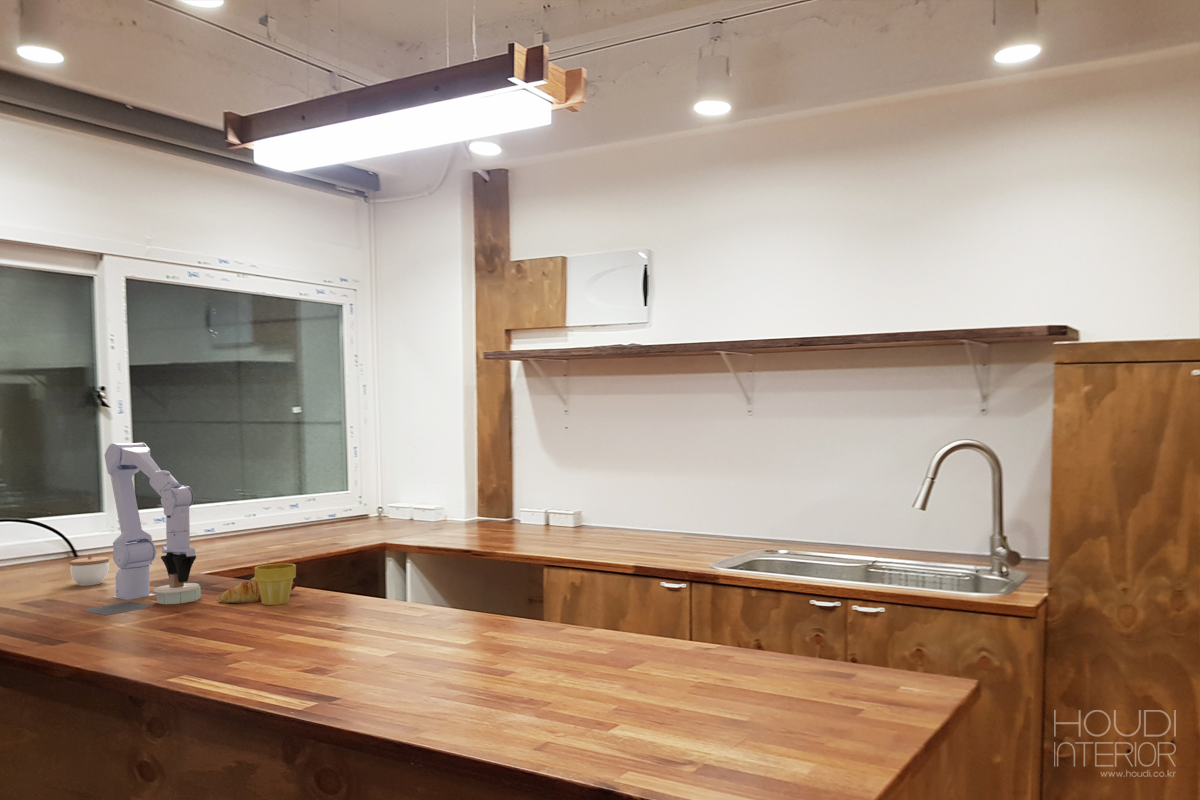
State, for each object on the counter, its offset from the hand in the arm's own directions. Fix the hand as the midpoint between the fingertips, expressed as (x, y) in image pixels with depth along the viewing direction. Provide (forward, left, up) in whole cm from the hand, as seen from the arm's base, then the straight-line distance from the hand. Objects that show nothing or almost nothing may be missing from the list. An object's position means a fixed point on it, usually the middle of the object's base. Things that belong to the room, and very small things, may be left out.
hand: (178, 581), depth 232 cm
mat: (-4, -14, -6) cm, 16 cm away
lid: (0, -1, -2) cm, 2 cm away
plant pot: (+26, +13, -6) cm, 30 cm away
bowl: (0, 0, -6) cm, 6 cm away
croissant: (+15, +14, -6) cm, 22 cm away
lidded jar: (-59, +1, -6) cm, 59 cm away
